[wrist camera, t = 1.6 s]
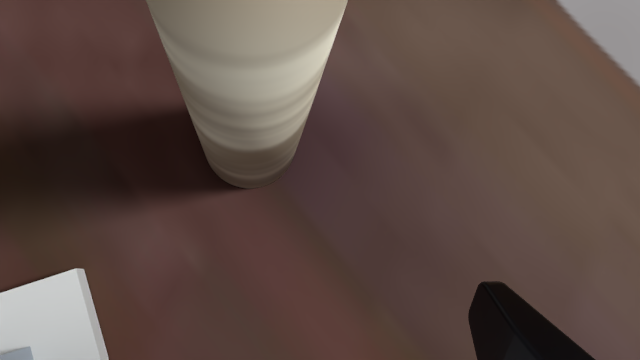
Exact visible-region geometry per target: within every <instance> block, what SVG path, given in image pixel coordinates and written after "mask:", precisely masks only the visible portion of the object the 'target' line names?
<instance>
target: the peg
mask: <svg viewBox="0 0 640 360" xmlns="http://www.w3.org/2000/svg"><path fill="white" fill-rule="evenodd" d="M146 1H147V4H148V7H149V9H150V12H151V15H152V17H153V20H154V22H155V25H156V28H157V30H158V33H159V35H160V38H161V41H162V43H163V46H164V49H165V51H166V54H167V56H168V59H169V62H170V64H171V67H172V69H173V72H174V75H175V77H176V80H177V83H178V85H179V88H180V90H181V93H182V96H183V98H184V101H185V103H186V106H187V109H188V111H189V114H190V117H191V119H192V122H193V124H194V127H195V130H196V132H197V135H198V137H199V140H200V143H201V145H202V148H203V151H204V153H205V156H206V158H207V161H208V163H209V165H210V167H211V168H212V170H213V171H214V172H215V173H216V174H217V175H218V176H219V177H220V178H221V179H222V180H224V181H226V182H227V183H229V184H231V185H234V186H237V187H241V188H259V187H263V186H266V185H269V184H271V183H273V182H275V181H276V180H277V179H279V178H280V177H281V176H282V175H283V174H284V173H285V172H286V171H287V169H288V168H289V166H290V164H291V162H292V160H293V157H294V154H295V152H296V149H297V146H298V143H299V140H300V137H301V134H302V131H303V128H304V126H305V123H306V120H307V117H308V114H309V111H310V108H311V105H312V102H313V100H314V97H315V94H316V91H317V88H318V85H319V82H320V79H321V76H322V74H323V71H324V68H325V65H326V62H327V59H328V56H329V53H330V50H331V48H332V45H333V42H334V39H335V36H336V33H337V30H338V27H339V24H340V22H341V19H342V16H343V13H344V10H345V7H346V4H347V1H348V0H146Z"/></svg>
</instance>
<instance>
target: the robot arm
mask: <svg viewBox="0 0 640 360" xmlns="http://www.w3.org/2000/svg"><path fill="white" fill-rule="evenodd" d="M468 318H469V325H470V329H471V334H472V338H473V343H474V347H475V351H476V356H477V360H595V359H594V358H593V357H592V356H591V355H589V354H588V353H587V352H586V351H585V350H583V349H582V348H581V347H580V346H579V345H577V344H576V343H575V342H574V341H573V340H571V339H570V338H569V337H568V336H567V335H565V334H564V333H563V332H562V331H561V330H559V329H558V328H557V327H556V326H555V325H553V324H552V323H551V322H550V321H549V320H548V319H546V318H545V317H544V316H543V315H542V314H540V313H539V312H538V311H537V310H536V309H534V308H533V307H532V306H531V305H530V304H528V303H527V302H526V301H525V300H524V299H522V298H521V297H520V296H519V295H518V294H516V293H515V292H514V291H513V290H512V289H510V288H509V287H508V286H507V285H506V284H504V283H502V282H499V281H493V282H481V283H480V284H479V285H478V287H477V290H476V293H475V295H474V298H473V301H472V304H471V306H470V309H469V315H468Z"/></svg>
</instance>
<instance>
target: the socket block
mask: <svg viewBox="0 0 640 360" xmlns="http://www.w3.org/2000/svg"><path fill="white" fill-rule="evenodd" d="M0 360H109V358H108V354H107V351H106V347H105V344H104V340H103V336H102V333H101V329H100V326H99V322H98V318H97V315H96V311H95V307H94V304H93V300H92V297H91V293H90V289H89V286H88V282H87V279H86V275H85V271H84V269H73V270H70V271H67V272H63V273H60V274H57V275H54V276H51V277H48V278H45V279H42V280H39V281H36V282H33V283H30V284H27V285H23V286H20V287H17V288H14V289H11V290H8V291H5V292H2V293H0Z"/></svg>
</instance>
